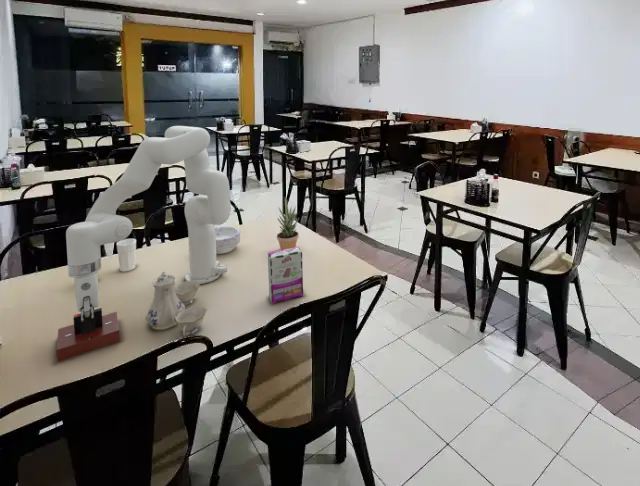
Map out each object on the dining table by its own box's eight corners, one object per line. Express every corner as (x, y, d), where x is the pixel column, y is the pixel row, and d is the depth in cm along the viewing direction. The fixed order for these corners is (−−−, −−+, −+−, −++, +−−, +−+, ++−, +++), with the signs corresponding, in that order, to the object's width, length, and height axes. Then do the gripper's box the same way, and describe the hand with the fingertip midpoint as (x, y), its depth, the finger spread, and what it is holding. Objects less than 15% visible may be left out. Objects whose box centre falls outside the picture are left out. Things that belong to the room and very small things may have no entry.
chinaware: (213, 338, 115) (217, 283, 115) (149, 355, 106) (153, 295, 105) (194, 295, 138) (198, 250, 138) (140, 306, 128) (144, 257, 128)
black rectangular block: (102, 323, 114) (101, 306, 113) (102, 326, 112) (101, 309, 112) (74, 332, 110) (73, 314, 109) (74, 335, 108) (73, 317, 108)
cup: (141, 264, 157) (140, 238, 156) (129, 272, 151) (128, 245, 150) (126, 264, 158) (124, 238, 157) (113, 271, 152) (112, 245, 151)
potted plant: (281, 244, 178) (281, 192, 176) (301, 246, 176) (301, 193, 174) (273, 254, 168) (272, 199, 166) (294, 255, 167) (293, 200, 164)
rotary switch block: (117, 322, 120) (116, 311, 120) (119, 341, 111) (119, 329, 111) (59, 340, 112) (58, 328, 111) (57, 362, 103) (56, 349, 102)
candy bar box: (299, 289, 140) (298, 245, 138) (303, 296, 135) (303, 251, 134) (268, 297, 135) (267, 251, 133) (271, 304, 130) (270, 257, 129)
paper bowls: (233, 257, 165) (232, 239, 164) (197, 256, 165) (197, 239, 164) (245, 242, 180) (245, 226, 179) (213, 242, 180) (212, 225, 179)
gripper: (102, 274, 105) (105, 334, 106) (99, 252, 119) (102, 305, 120) (67, 283, 100) (70, 345, 102) (68, 258, 114) (72, 313, 115)
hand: (88, 323), depth 111 cm, fingers open, 9 cm apart
